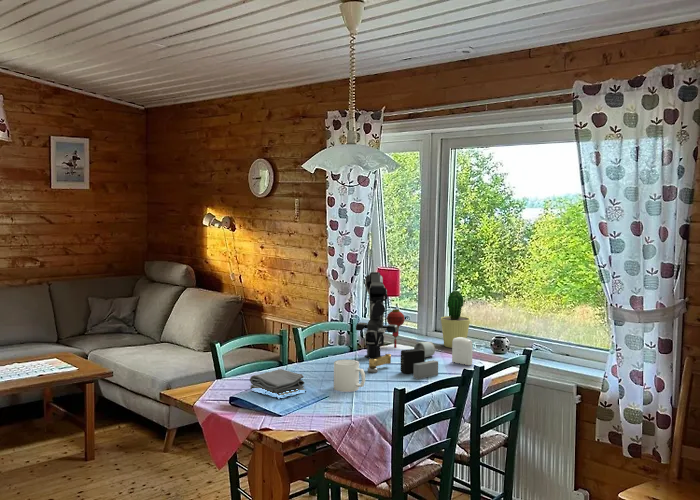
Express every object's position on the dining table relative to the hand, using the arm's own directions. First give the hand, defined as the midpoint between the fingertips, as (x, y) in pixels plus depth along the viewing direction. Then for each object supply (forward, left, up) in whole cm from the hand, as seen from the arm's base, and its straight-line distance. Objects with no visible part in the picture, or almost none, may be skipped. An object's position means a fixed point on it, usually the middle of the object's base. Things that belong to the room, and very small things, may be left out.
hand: (376, 346), depth 314 cm
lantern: (-27, +36, -10) cm, 46 cm away
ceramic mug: (-3, +33, -10) cm, 34 cm away
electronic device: (+17, +7, -10) cm, 21 cm away
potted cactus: (-12, +65, -10) cm, 66 cm away
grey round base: (+6, -7, -10) cm, 14 cm away
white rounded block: (+18, +38, -10) cm, 43 cm away
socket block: (+26, +7, -10) cm, 28 cm away
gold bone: (+5, -2, -8) cm, 9 cm away
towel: (+10, -59, -10) cm, 61 cm away
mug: (+22, -33, -10) cm, 41 cm away
